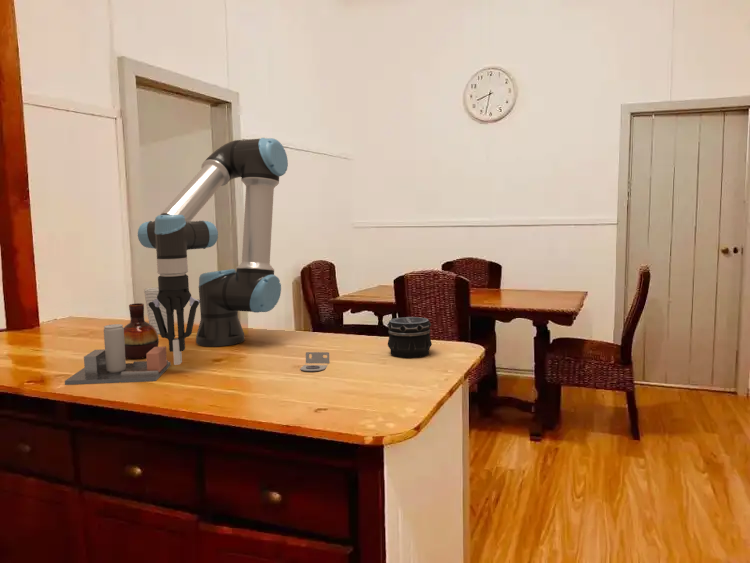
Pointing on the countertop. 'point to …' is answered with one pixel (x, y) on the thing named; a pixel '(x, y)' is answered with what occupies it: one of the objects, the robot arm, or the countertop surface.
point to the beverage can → (114, 348)
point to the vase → (139, 334)
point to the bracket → (316, 361)
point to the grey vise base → (99, 374)
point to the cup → (149, 297)
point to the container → (409, 337)
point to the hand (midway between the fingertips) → (178, 363)
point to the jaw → (156, 358)
